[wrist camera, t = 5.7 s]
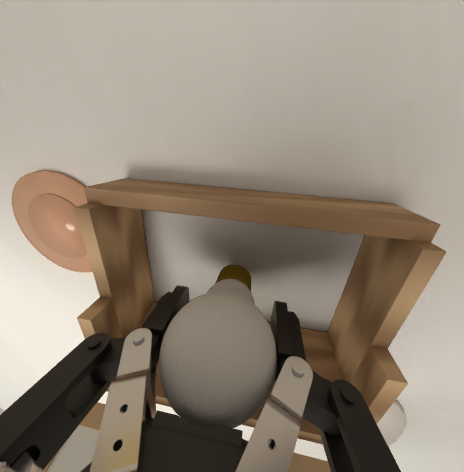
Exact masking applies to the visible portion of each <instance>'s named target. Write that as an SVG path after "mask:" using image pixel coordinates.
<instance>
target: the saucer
mask: <svg viewBox="0 0 464 472" xmlns="http://www.w3.org/2000/svg"><path fill="white" fill-rule="evenodd" d="M84 187H85V186H84V185H82V184H81V183H79V182H78V181H76V180H74V179H73V178H71V177H69V176H66V175H64V174H61V173H58V172H52V171H41V172H33V173H29V174H26V175H24V176H23V177H21V178H20V179H19V180H18V181H17V183H16V184H15V186H14V189H13V193H12V207H13V212H14V215H15V218H16V220H17V223H18V225H19V227H20V229H21V230H22V232H23V234H24V235H25V236H26V238H27V239H28V240H29V242H30V243H31V244H32V245H33V246H34V247H35V248H36V249H37V250H38V251H39V252H40V253H41V254H42V255H43V256H45V257H46V258H47V259H49V260H50V261H52V262H53V263H55V264H57V265H59V266H61V267H63V268H66V269H69V270H72V271H76V272H92V267H91V264H90V261H89V257H88V254H87V250H86V247H85V244H84V240H83V237H82V234H81V230H80V227H79V224H78V220H77V217H76V213H75V210H74V207H77V206H80V205H83V204H86V203H87V199H86V195H85V192H84Z"/></svg>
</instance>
